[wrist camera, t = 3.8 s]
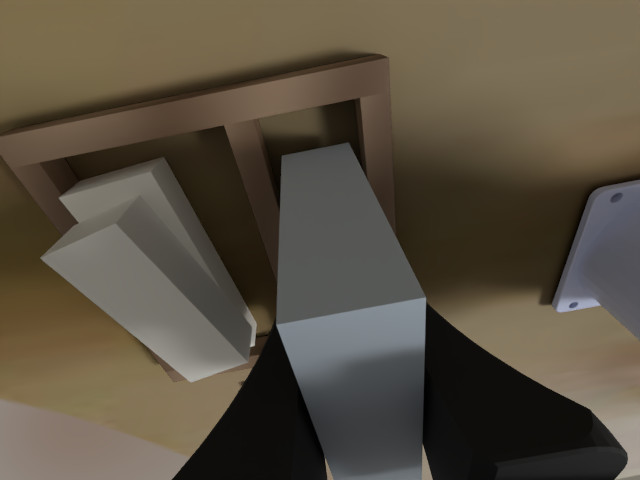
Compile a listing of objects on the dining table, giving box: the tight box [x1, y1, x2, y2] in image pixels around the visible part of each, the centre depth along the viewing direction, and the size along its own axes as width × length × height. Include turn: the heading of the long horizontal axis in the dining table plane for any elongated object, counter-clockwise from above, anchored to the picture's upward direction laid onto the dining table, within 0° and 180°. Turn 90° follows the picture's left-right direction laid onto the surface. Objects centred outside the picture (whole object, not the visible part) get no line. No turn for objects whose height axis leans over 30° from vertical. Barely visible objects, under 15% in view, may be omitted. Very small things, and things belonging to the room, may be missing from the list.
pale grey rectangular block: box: [276, 142, 426, 480], centre depth 11 cm, size 2×9×8 cm, turn 10°
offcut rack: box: [0, 54, 396, 382], centre depth 15 cm, size 13×14×1 cm
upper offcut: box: [40, 195, 253, 382], centre depth 13 cm, size 3×8×2 cm, turn 23°
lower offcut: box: [59, 157, 257, 347], centre depth 15 cm, size 4×10×2 cm, turn 14°
